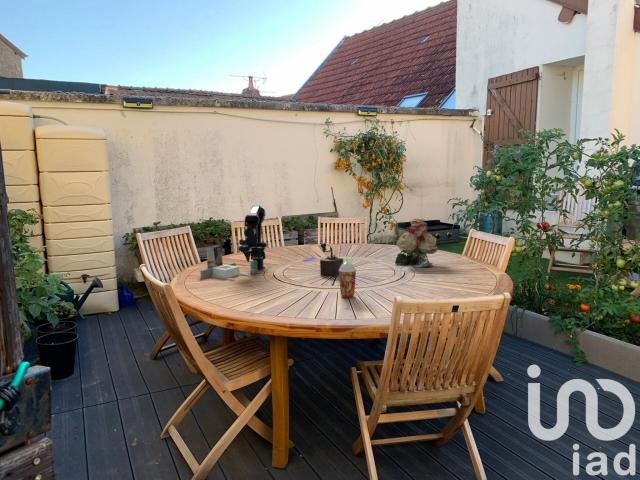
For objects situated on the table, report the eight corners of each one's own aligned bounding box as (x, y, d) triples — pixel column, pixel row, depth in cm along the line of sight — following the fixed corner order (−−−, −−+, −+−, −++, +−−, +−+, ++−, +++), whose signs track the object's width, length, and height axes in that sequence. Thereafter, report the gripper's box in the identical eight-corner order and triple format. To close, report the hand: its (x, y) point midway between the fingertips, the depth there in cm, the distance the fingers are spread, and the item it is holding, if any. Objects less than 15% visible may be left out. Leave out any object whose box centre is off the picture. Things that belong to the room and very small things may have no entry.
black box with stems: (344, 273, 265) (344, 244, 262) (334, 277, 256) (334, 246, 253) (323, 270, 273) (322, 242, 271) (312, 274, 264) (312, 244, 262)
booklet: (331, 265, 290) (331, 264, 290) (302, 261, 305) (302, 260, 305) (341, 262, 300) (341, 261, 300) (312, 258, 315) (312, 257, 315)
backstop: (233, 270, 279) (233, 262, 278) (257, 274, 267) (257, 266, 266) (200, 278, 258) (200, 270, 258) (225, 283, 246) (224, 274, 245)
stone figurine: (393, 267, 279) (393, 220, 274) (402, 258, 306) (402, 215, 301) (434, 270, 270) (435, 221, 265) (439, 260, 296) (440, 216, 292)
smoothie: (338, 294, 219) (337, 255, 216) (354, 294, 220) (354, 254, 217) (340, 299, 211) (339, 258, 208) (357, 298, 212) (357, 258, 209)
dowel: (254, 273, 270) (253, 260, 269) (258, 273, 267) (258, 261, 266) (249, 274, 267) (248, 261, 265) (254, 275, 264) (253, 262, 263)
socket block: (226, 272, 272) (226, 264, 271) (239, 274, 265) (238, 266, 265) (213, 276, 263) (212, 267, 262) (225, 278, 257) (225, 270, 256)
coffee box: (216, 273, 272) (215, 247, 269) (207, 272, 274) (205, 247, 271) (223, 269, 281) (222, 245, 278) (214, 269, 282) (213, 244, 280)
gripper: (253, 232, 275) (254, 256, 278) (231, 236, 261) (232, 261, 263) (266, 233, 269) (267, 258, 271) (244, 237, 254) (246, 264, 257)
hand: (253, 260), depth 266 cm, fingers open, 9 cm apart
